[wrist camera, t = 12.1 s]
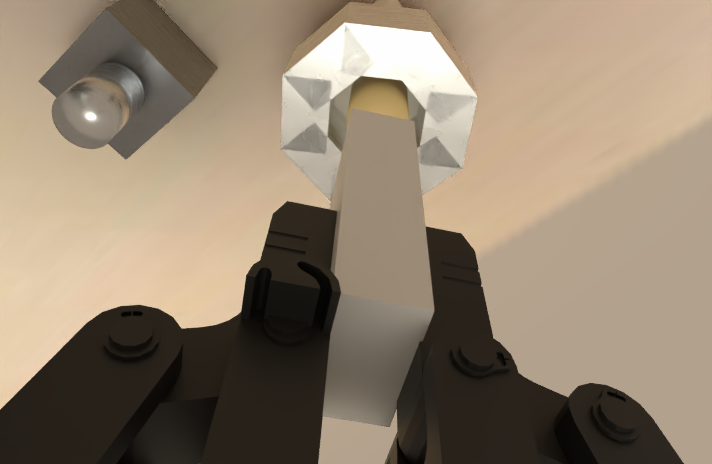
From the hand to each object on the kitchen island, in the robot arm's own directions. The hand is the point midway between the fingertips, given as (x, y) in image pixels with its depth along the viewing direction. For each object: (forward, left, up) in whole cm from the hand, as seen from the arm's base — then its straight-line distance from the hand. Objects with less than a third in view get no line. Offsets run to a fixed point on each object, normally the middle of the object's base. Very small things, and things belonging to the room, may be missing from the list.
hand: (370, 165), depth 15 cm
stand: (-5, -14, -23) cm, 27 cm away
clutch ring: (+4, -3, -18) cm, 18 cm away
